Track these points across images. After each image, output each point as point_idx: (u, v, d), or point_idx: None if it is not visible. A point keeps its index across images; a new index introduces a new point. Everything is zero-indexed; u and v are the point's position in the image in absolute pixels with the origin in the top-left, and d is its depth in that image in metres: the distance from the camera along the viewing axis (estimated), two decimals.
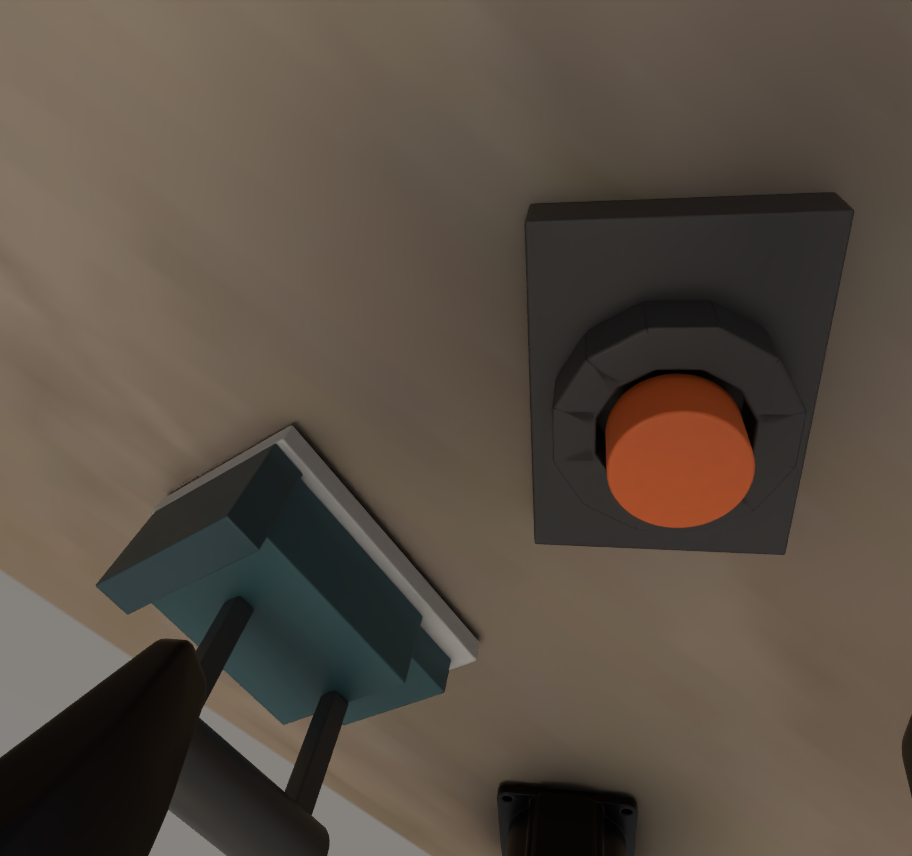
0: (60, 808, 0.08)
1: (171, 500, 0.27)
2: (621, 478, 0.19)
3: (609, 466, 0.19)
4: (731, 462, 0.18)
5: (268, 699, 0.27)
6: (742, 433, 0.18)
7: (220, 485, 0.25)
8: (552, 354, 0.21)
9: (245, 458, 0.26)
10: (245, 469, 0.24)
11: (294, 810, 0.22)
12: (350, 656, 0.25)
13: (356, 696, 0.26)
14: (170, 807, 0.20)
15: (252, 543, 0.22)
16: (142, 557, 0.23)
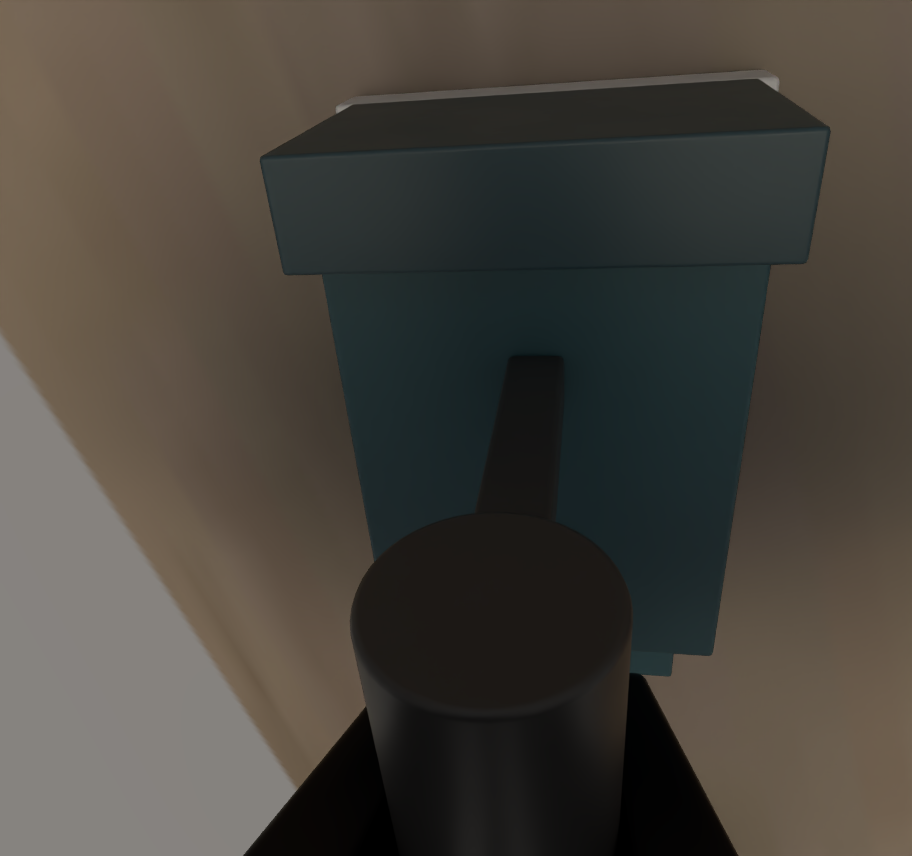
0: (376, 847, 0.07)
1: (402, 99, 0.12)
2: None
3: None
4: None
5: None
6: None
7: (623, 98, 0.10)
8: None
9: (651, 83, 0.11)
10: (704, 91, 0.10)
11: None
12: (663, 572, 0.12)
13: None
14: None
15: (810, 237, 0.08)
16: (451, 142, 0.09)
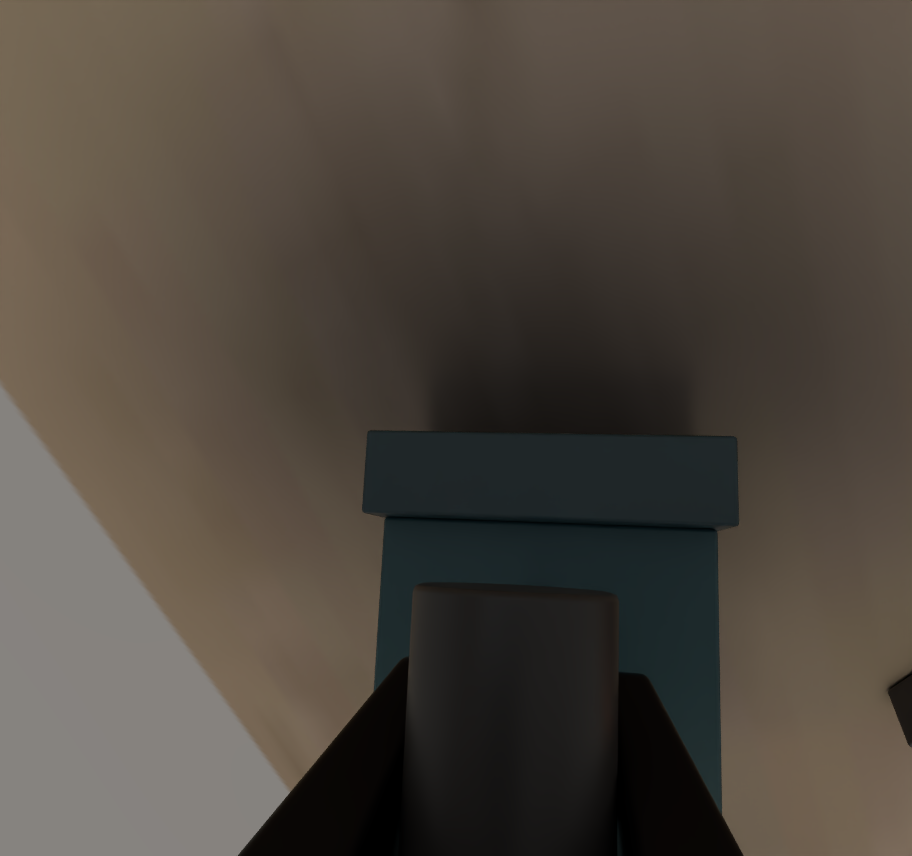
0: (371, 846, 0.07)
1: None
2: None
3: None
4: None
5: None
6: None
7: None
8: None
9: None
10: None
11: None
12: None
13: None
14: (479, 832, 0.07)
15: (737, 506, 0.12)
16: None
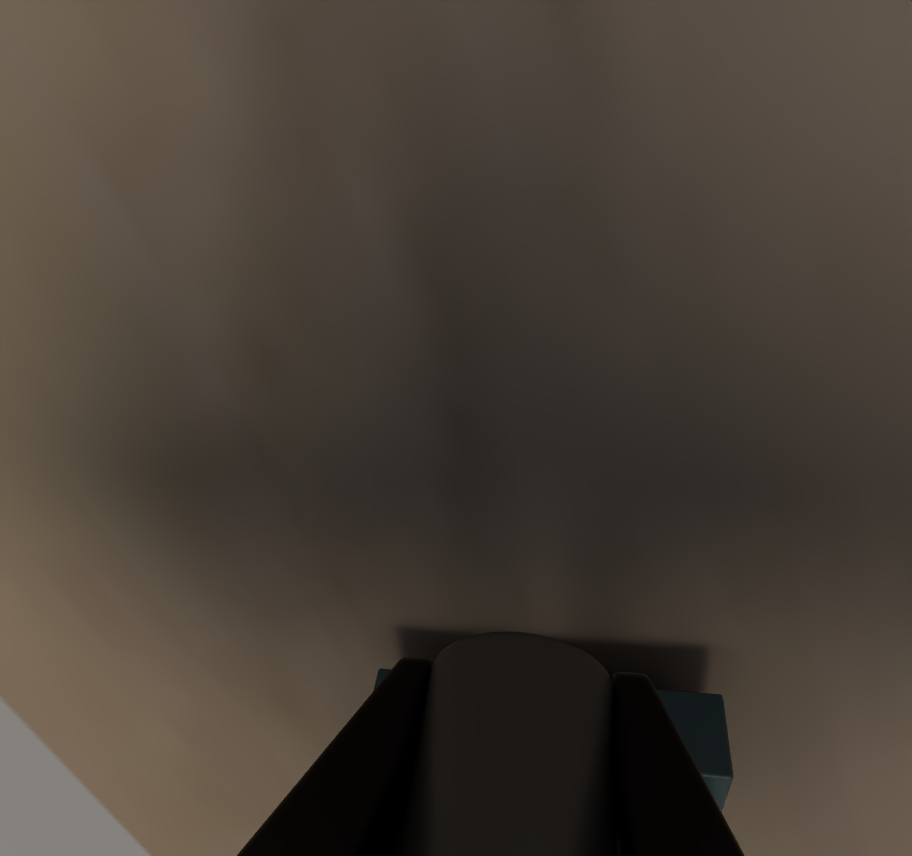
0: (371, 846, 0.07)
1: None
2: None
3: None
4: None
5: None
6: None
7: None
8: None
9: None
10: None
11: None
12: None
13: None
14: (481, 831, 0.07)
15: (730, 759, 0.12)
16: None
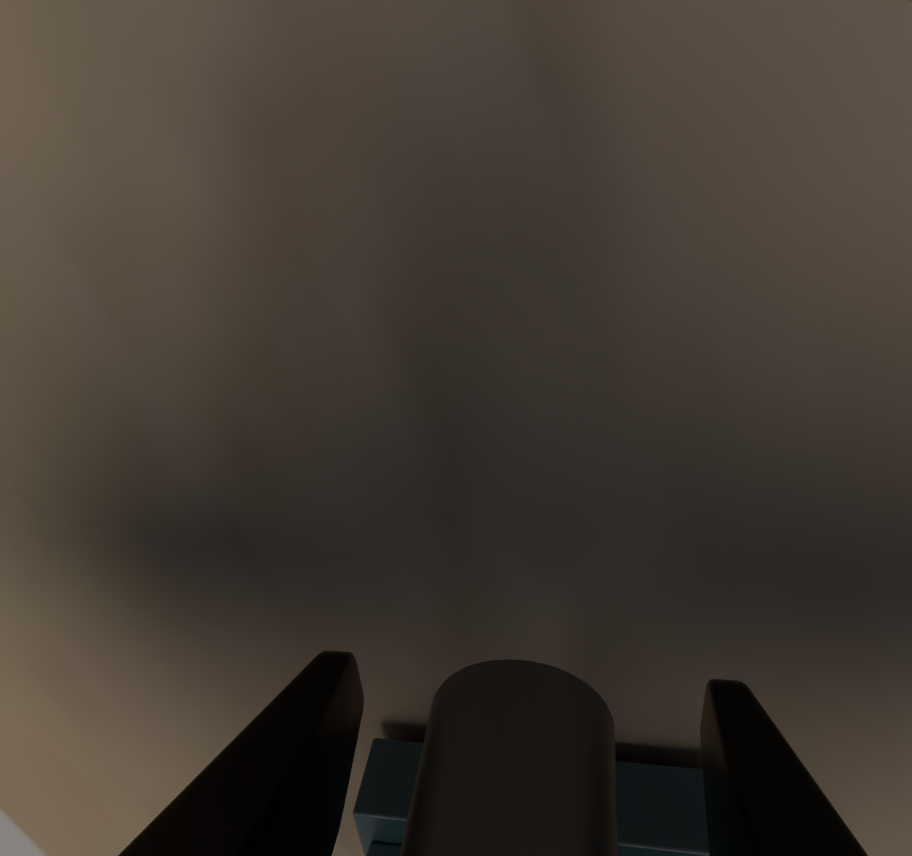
0: (267, 833, 0.07)
1: None
2: None
3: None
4: None
5: None
6: None
7: None
8: None
9: None
10: None
11: None
12: None
13: None
14: (481, 844, 0.07)
15: None
16: None
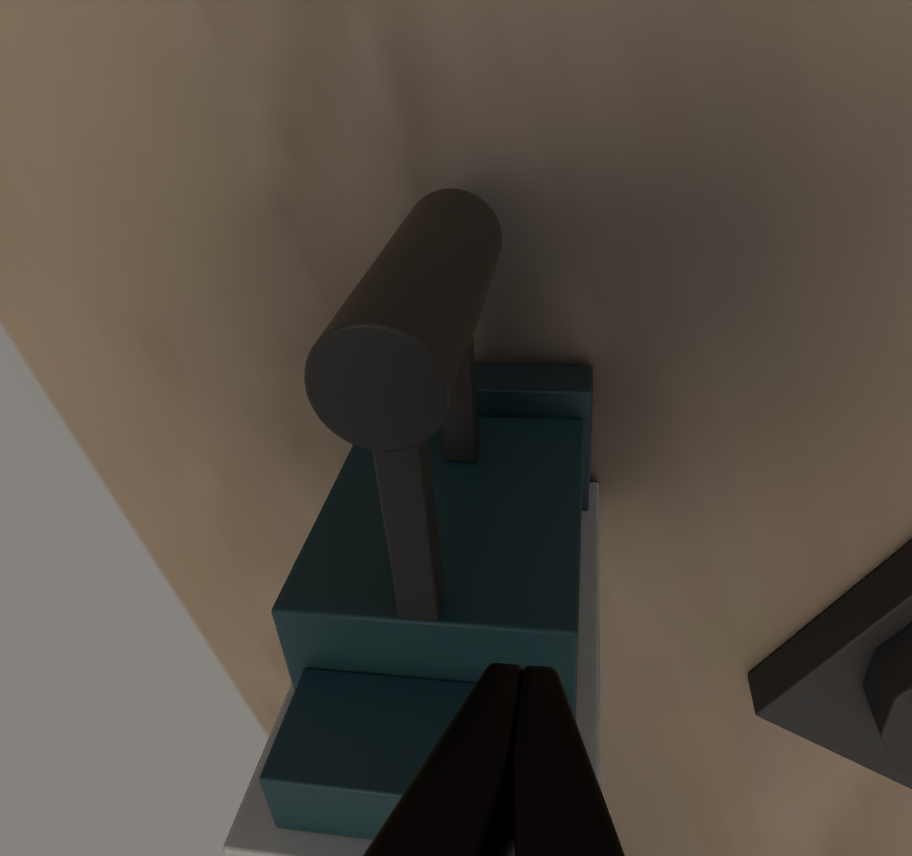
0: None
1: None
2: None
3: None
4: None
5: (319, 561, 0.16)
6: None
7: None
8: None
9: None
10: None
11: None
12: (532, 557, 0.15)
13: (464, 616, 0.14)
14: (424, 217, 0.14)
15: (591, 386, 0.19)
16: None
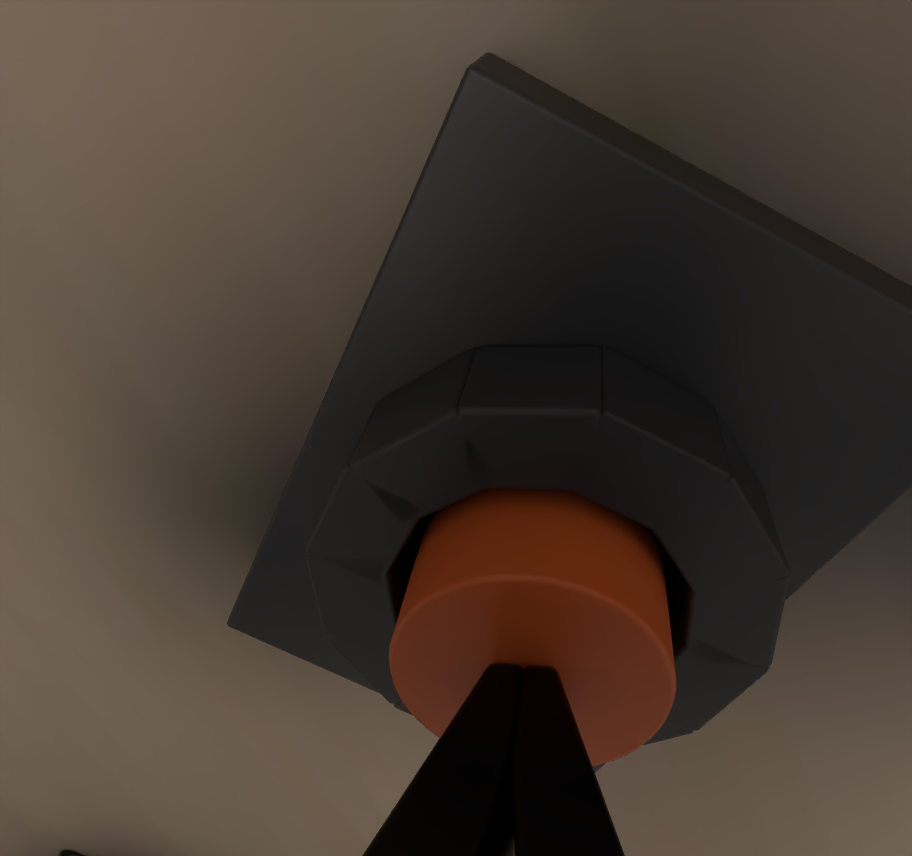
0: None
1: None
2: (419, 648, 0.09)
3: (408, 620, 0.09)
4: (627, 708, 0.09)
5: None
6: (674, 672, 0.09)
7: None
8: (394, 354, 0.10)
9: None
10: None
11: None
12: None
13: None
14: None
15: None
16: None
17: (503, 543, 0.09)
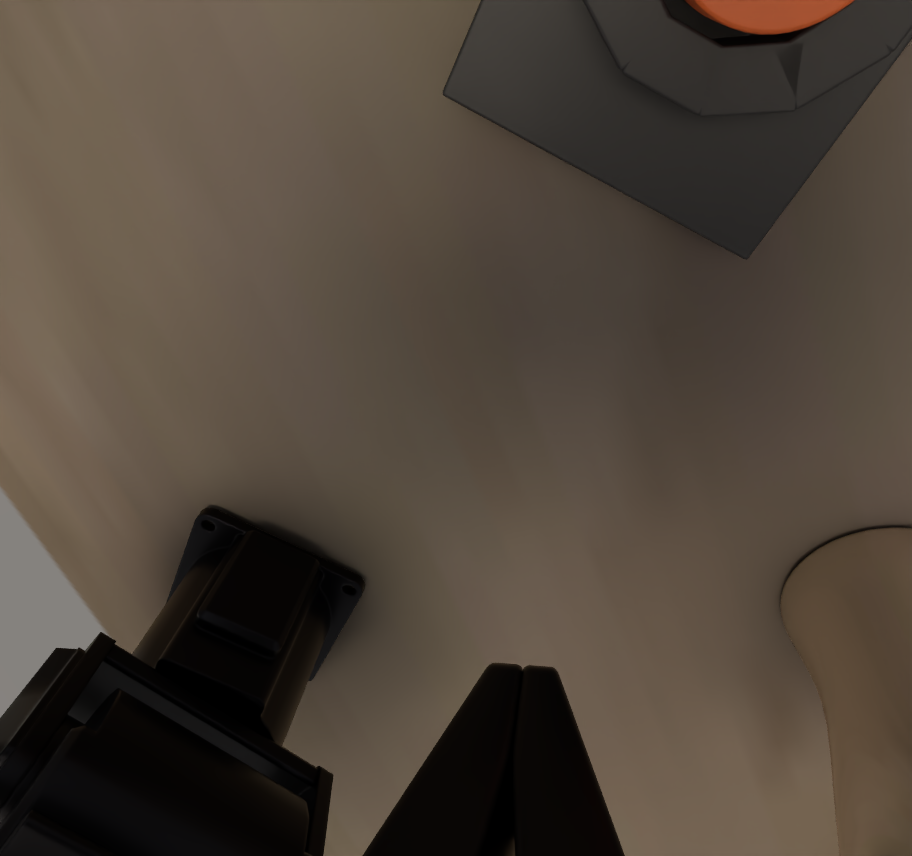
0: None
1: None
2: None
3: None
4: None
5: None
6: None
7: None
8: None
9: None
10: None
11: None
12: None
13: None
14: None
15: None
16: None
17: None
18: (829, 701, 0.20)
